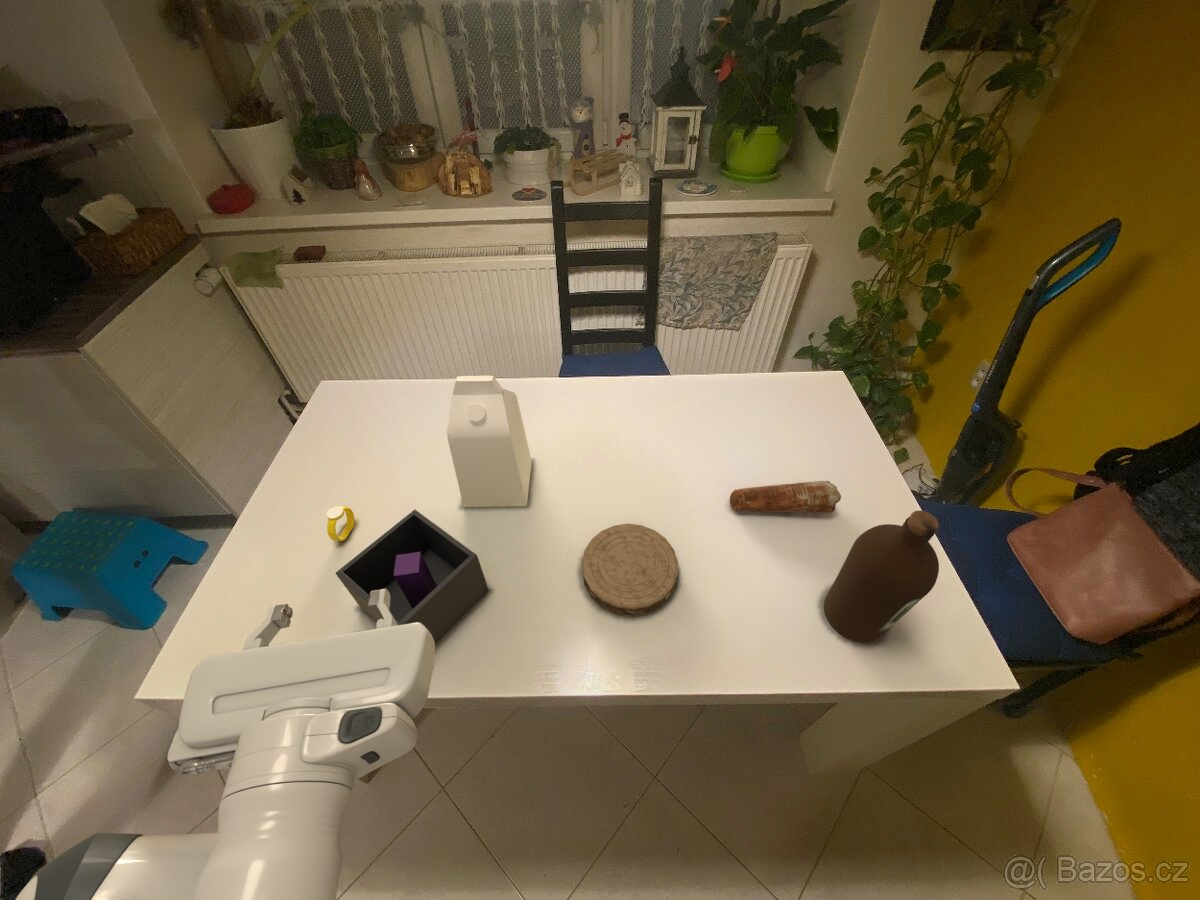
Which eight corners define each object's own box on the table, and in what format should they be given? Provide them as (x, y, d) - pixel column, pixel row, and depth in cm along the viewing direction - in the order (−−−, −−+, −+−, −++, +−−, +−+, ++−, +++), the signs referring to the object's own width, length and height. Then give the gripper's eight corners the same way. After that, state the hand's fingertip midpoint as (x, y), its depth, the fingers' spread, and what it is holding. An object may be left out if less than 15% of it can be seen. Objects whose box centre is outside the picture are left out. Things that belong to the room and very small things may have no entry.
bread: (834, 519, 93) (844, 500, 89) (730, 517, 94) (735, 498, 90) (825, 492, 98) (834, 473, 94) (725, 491, 98) (730, 472, 94)
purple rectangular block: (435, 604, 82) (418, 572, 74) (412, 608, 81) (393, 576, 74) (436, 585, 84) (420, 551, 77) (414, 588, 84) (396, 555, 76)
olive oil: (806, 615, 80) (864, 521, 63) (837, 572, 86) (899, 474, 68) (872, 662, 75) (955, 574, 57) (901, 613, 81) (985, 519, 63)
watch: (346, 547, 90) (333, 527, 86) (331, 545, 91) (317, 526, 86) (361, 520, 94) (349, 500, 90) (347, 518, 95) (335, 498, 90)
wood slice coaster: (563, 582, 85) (562, 572, 83) (617, 519, 94) (617, 509, 92) (643, 635, 78) (644, 627, 76) (693, 562, 87) (695, 553, 85)
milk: (531, 461, 104) (515, 356, 86) (526, 505, 96) (507, 400, 78) (473, 462, 104) (444, 358, 86) (463, 507, 96) (429, 402, 78)
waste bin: (418, 661, 76) (397, 630, 68) (360, 607, 82) (334, 572, 74) (489, 590, 84) (477, 555, 76) (431, 546, 90) (414, 509, 83)
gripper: (183, 789, 42) (237, 630, 52) (434, 742, 44) (442, 599, 54) (132, 771, 38) (202, 601, 47) (415, 720, 40) (427, 567, 49)
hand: (332, 599), depth 50 cm, fingers open, 8 cm apart
